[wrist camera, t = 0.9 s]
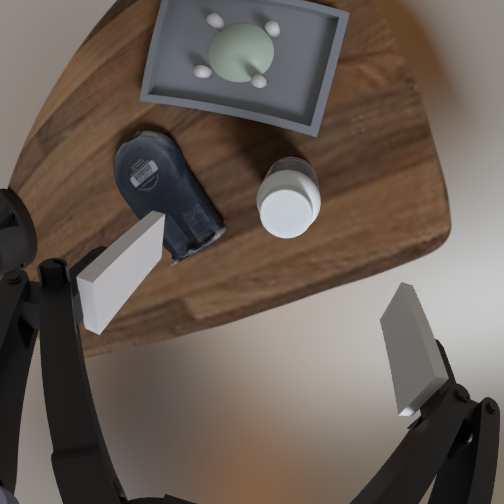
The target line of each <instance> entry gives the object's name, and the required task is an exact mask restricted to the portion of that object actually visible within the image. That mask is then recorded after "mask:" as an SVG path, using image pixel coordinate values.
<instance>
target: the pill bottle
mask: <svg viewBox="0 0 504 504" xmlns="http://www.w3.org/2000/svg"><path fill="white" fill-rule="evenodd" d="M320 203H321V202H320V193H319V184H318V179H317V175H316V173H315V171H314V169H313V168H312V166H311V165H310V164H309V163H307V162H306V161H304V160H302V159H300V158H297V157H286V158H283V159H280V160H278V161H277V162H275V163H274V164H273V165H272V166H271V168H270V169H269V171H268V173H267V174H266V176H265V178H264V180H263V182H262V184H261V185H260V188H259V190H258V194H257V207H258V211H259V213H260V219H261V222H262V224H263V226H264V227H265V228H266V229H267V230H268V231H269V232H270V233H271V234H273V235H275V236H277V237H281V238H292V237H296V236H298V235H300V234H302V233H303V232H304V231H306V230H307V228H308V227H309V225H310V224H311V223H312V222H313V221H314V220H315V219H316V217H317V215H318V213H319V210H320Z"/></svg>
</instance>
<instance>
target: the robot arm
mask: <svg viewBox="0 0 504 504" xmlns="http://www.w3.org/2000/svg"><path fill="white" fill-rule="evenodd" d="M164 221H165V214H163V213H159V212H155V211H152V212H150V213H149V214H148V215H147V216H145V217H144V218H143V219H142V220H140V221H139V222H138V223H137V224H136V225H134V226H133V227H132V228H131V229H129V230H128V231H127V232H126V233H125V234H124V235H122V236H121V237H120V238H119V239H118V240H117V241H115V242H114V243H113V244H112V245H111V246H110V247H108V248H107V247H104V246H100V247H98V248H95V249H93V250H92V251H90V252H89V253H88V254H87V255H86V257H85V256H84V257H83V258H82V259H81V261H79V262H78V263H76V264H75V265H74V266H73V267H72V268H71V269H70V270H69V269H68V264H67V262H66V261H65V260H63V259H60V258H50V259H47V260H45V261H43V262H41V263H40V264H39V265H38V268H37V272H38V277H39V281H40V282H34V281H29V278H28V275H27V272H25V271H24V270H22V269H24V268H26V267H27V266H28V265H29V264H31V263H32V262H33V261H34V259H35V256H36V252H37V240H36V234H35V230H34V226H33V223H32V220H31V218H30V216H29V214H28V211H27V210H26V208H25V206H24V205H23V203H22V202H21V200H20V199H19V198H18V197H17V196H16V195H15V194H14V193H13V192H11V191H10V190H8V189H0V277H1V276H3V277H2V279H1V281H0V504H19V502H18V500H17V499H16V497H15V496H14V492H15V485H16V478H17V462H18V443H19V433H20V423H21V414H22V408H23V401H24V395H25V389H26V383H27V378H28V373H29V368H30V363H31V358H32V354H33V350H34V346H35V342H36V338H37V334H38V331H39V330H40V350H41V351H40V352H41V367H42V379H43V389H44V397H45V405H46V412H47V418H48V424H49V428H50V435H51V440H52V444H53V454H52V455H51V461H52V466H53V471H54V475H55V478H56V482H57V485H58V488H59V492H60V495H61V498H62V501H63V504H196V503H192V502H189V501H185V500H182V499H179V498H176V497H173V496H170V495H167V494H165V496H164V498H153V497H146V498H137V499H132V500H129V501H128V499H127V497H126V495H125V493H124V490H123V488H122V486H121V483H120V481H119V479H118V477H117V475H116V472H115V470H114V467H113V464H112V461H111V459H110V456H109V453H108V450H107V447H106V444H105V441H104V437H103V434H102V431H101V428H100V424H99V421H98V417H97V413H96V410H95V406H94V402H93V398H92V394H91V389H90V385H89V380H88V376H87V371H86V366H85V361H84V355H83V349H82V343H81V337H80V330H79V325H78V324H79V323H80V322H81V321H82V320H83V319H84V324H85V328H86V329H88V330H90V331H92V332H94V333H97V334H99V335H100V334H101V332H102V331H103V330H104V329H105V327H106V326H107V325H108V323H109V322H110V321H111V319H112V318H113V317H114V316H115V314H116V313H117V312H118V310H119V309H120V308H121V307H122V305H123V304H124V303H125V302H126V300H127V299H128V298H129V297H130V295H131V294H132V293H133V292H134V290H135V289H136V288H137V287H138V285H139V284H140V283H141V282H142V281H143V279H144V278H145V277H146V276H147V274H148V273H149V272H150V271H151V270H152V268H153V267H154V266H155V265H156V264H157V262H158V261H159V260H160V259H161V255H162V243H163V232H164ZM380 322H381V326H382V330H383V335H384V340H385V344H386V349H387V354H388V358H389V363H390V368H391V374H392V379H393V384H394V390H395V396H396V402H397V409H398V415H404V416H412V415H414V414H415V413H416V412H417V411H418V410H419V409H420V411H421V416H420V417H419V418H418V419H417V420H415V421H414V422H413V423H412V424H411V425H410V426H409V427H408V429H410V430H409V431H408V433H407V434H406V436H405V437H404V439H403V440H402V441H401V443H400V444H399V445H398V447H397V448H396V450H395V451H394V452H393V453H392V455H391V456H390V457H389V459H388V460H387V461H386V463H385V464H384V465H383V466H382V467H381V469H380V470H379V471H378V472H377V474H376V475H375V476H374V477H373V478H372V479H371V481H370V482H369V483H368V484H367V485H366V486H365V488H364V489H363V490H362V491H361V492H360V493H359V494H358V495H357V496H356V497H355V498H354V499H353V500H352V502H351V503H350V504H419V502H420V501H421V499H422V497H423V496H424V494H425V493H426V491H427V490H428V488H429V486H430V485H431V483H432V481H433V479H434V478H435V476H436V474H437V476H436V479H435V483H434V486H433V489H432V492H431V495H430V498H429V501H428V504H491V499H492V494H493V488H494V481H495V475H496V467H497V459H498V447H499V431H500V429H499V428H500V410H499V407H498V405H497V403H496V402H495V401H494V400H493V399H492V398H489V397H486V398H484V399H483V400H482V401H481V402H480V403H477V402H475V401H473V400H470V395H469V393H468V391H467V390H466V389H465V388H464V387H463V386H462V385H460V384H457V383H456V381H455V378H454V375H453V372H452V369H451V366H450V364H449V361H448V358H447V357H446V356H447V355H446V353H445V350H444V347H443V346H442V345H441V344H440V342H439V341H438V340H436V339H435V338H434V336H433V333H432V330H431V328H430V325H429V323H428V320H427V318H426V315H425V313H424V311H423V308H422V306H421V304H420V301H419V299H418V297H417V294H416V292H415V290H414V288H413V286H412V285H409V284H406V283H401V284H400V286H399V288H398V289H397V291H396V293H395V295H394V297H393V298H392V300H391V302H390V304H389V305H388V307H387V309H386V311H385V312H384V314H383V316H382V317H381V319H380ZM470 441H471V442H470Z"/></svg>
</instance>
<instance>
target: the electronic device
mask: <svg viewBox="0 0 504 504" xmlns="http://www.w3.org/2000/svg"><path fill="white" fill-rule="evenodd" d="M114 177H115V181H116V184H117V186H118V188H119V190H120V193H121V195H122V196H123V198H124V199H125V200H126V202H127V203H128V205H129V206H130V207H131V208H132V210H133V211H134V213H135V214H136V216H137V217H138V218H139V219H140V220H142V219H143V218H144V217H145V216H147V215H148V214H149V213H150V212H152V211H155V212H159V213H163V214H165V221H164V232H163V243H162V245H163V246H164V247H165V248H166V249H167V250H168V251H169V252H170V253H171V254H172V258H171V260H172V262H171V265H172V266H173V265H175V264H176V263H178V262H180V261H182V260H183V259H185V258H186V257H188V256H190V255H191V254H193V253H195V252H197V251H199V250H201V249H202V248H204V247H205V246H207V245H209V244H210V243H212V242H213V241H215V240H216V239H218V238H219V237H220V236H221V234H222V233H225V231H226V230H227V228H228V227H227V226H226V225H225V224H224V223H223V221H222V220H221V218H220V217H219V215H218V214H217V212H216V210H215V209H214V207H213V206H212V204H211V203H210V201H209V200H208V198H207V197H206V195H205V193H204V192H203V190H202V189H201V187H200V186H199V184H198V182H197V181H196V179H195V178H194V177H193V175H192V173H191V172H190V170H189V169H188V167H187V165H186V163H185V160H184V157H183V154H182V152H181V151H180V150H179V148H178V146H177V145H176V143H175V142H174V141H173V140H172V139H171V138H169V137H168V136H167V135H164V134H163V133H160V132H156V131H149V130H148V131H141V132H139V131H138V132H137V133H136V134H135V135H134V136H133V137H132V138H131V139H130V140H129V141H128V142H126V143H123V144H122V146H121V147H120V148H119V150H118V151H117V154H116V156H115V163H114Z"/></svg>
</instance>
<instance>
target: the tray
mask: <svg viewBox="0 0 504 504" xmlns="http://www.w3.org/2000/svg"><path fill="white" fill-rule="evenodd" d="M349 14H350V13H349V12H345V11H342V10H339V9H335V8H332V7H328V6H324V5H321V4H317V3H312V2H308V1H304V0H162V2H161V5H160V9H159V12H158V16H157V20H156V23H155V27H154V31H153V35H152V40H151V44H150V48H149V53H148V57H147V62H146V67H145V72H144V77H143V83H142V88H141V94H140V100H139V101H144V102H152V103H160V104H168V105H175V106H181V107H188V108H194V109H200V110H205V111H211V112H216V113H221V114H226V115H231V116H236V117H241V118H245V119H250V120H254V121H258V122H262V123H267V124H271V125H275V126H279V127H282V128H286V129H290V130H294V131H297V132H301V133H304V134H308V135H311V136H314V137H317V134H318V131H319V127H320V124H321V120H322V117H323V113H324V109H325V106H326V102H327V98H328V95H329V91H330V87H331V84H332V80H333V76H334V73H335V69H336V65H337V61H338V57H339V53H340V50H341V46H342V42H343V38H344V34H345V30H346V26H347V22H348V18H349Z"/></svg>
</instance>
